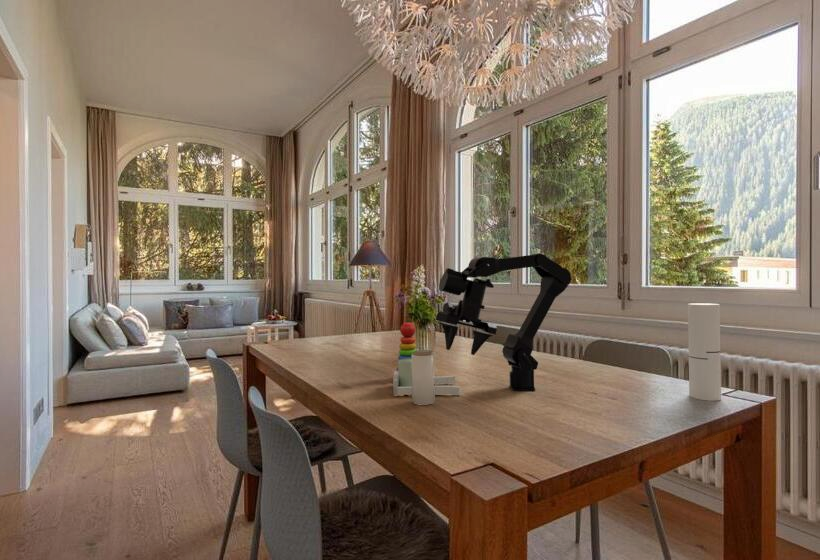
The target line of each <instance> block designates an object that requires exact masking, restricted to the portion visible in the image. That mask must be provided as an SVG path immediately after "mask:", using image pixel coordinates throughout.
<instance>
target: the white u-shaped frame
mask: <svg viewBox="0 0 820 560" xmlns="http://www.w3.org/2000/svg"><path fill="white" fill-rule="evenodd" d="M392 379H393V380H392V384H393V385H392V387H393V388H392V389H393V390H392V391H393V392H392V393H393V395H397V394H412V387H399V386H398V384H399V377H398V371H396V370H394V371H393V378H392ZM437 383H439V384H441V383H444V384H445V383H455V384H456V376H455V375H447V376H443V375H442V376H434V384H437ZM434 388H435V394H454V395H460V396H461V386H459V385H458V386H457V385H434Z"/></svg>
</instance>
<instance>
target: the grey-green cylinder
mask: <svg viewBox="0 0 820 560" xmlns="http://www.w3.org/2000/svg"><path fill="white" fill-rule="evenodd" d="M397 368H398V374H399V386H398V387H412V359H400V360H398V361H397Z"/></svg>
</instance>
